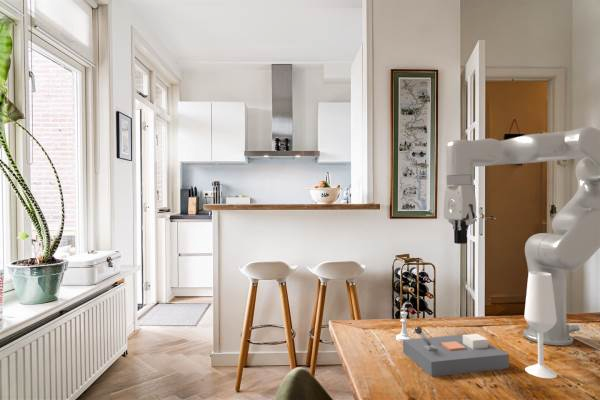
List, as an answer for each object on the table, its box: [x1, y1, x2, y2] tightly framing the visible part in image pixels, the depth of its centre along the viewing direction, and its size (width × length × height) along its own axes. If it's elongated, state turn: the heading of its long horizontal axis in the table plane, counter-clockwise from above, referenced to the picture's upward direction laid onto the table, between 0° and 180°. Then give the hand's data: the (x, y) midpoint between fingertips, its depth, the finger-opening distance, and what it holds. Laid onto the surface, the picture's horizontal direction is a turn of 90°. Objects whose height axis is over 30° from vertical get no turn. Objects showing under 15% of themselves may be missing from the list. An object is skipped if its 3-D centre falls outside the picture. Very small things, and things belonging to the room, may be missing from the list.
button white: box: [462, 333, 489, 349], centre depth 103 cm, size 4×4×2 cm
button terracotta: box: [441, 341, 466, 351], centre depth 102 cm, size 4×4×2 cm
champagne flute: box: [523, 272, 558, 379], centre depth 94 cm, size 7×7×24 cm
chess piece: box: [395, 305, 413, 343], centre depth 117 cm, size 5×5×10 cm
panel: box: [402, 333, 510, 377], centre depth 102 cm, size 21×15×4 cm
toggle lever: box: [414, 326, 431, 346], centre depth 100 cm, size 2×2×6 cm
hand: (460, 243), depth 116 cm, fingers closed
